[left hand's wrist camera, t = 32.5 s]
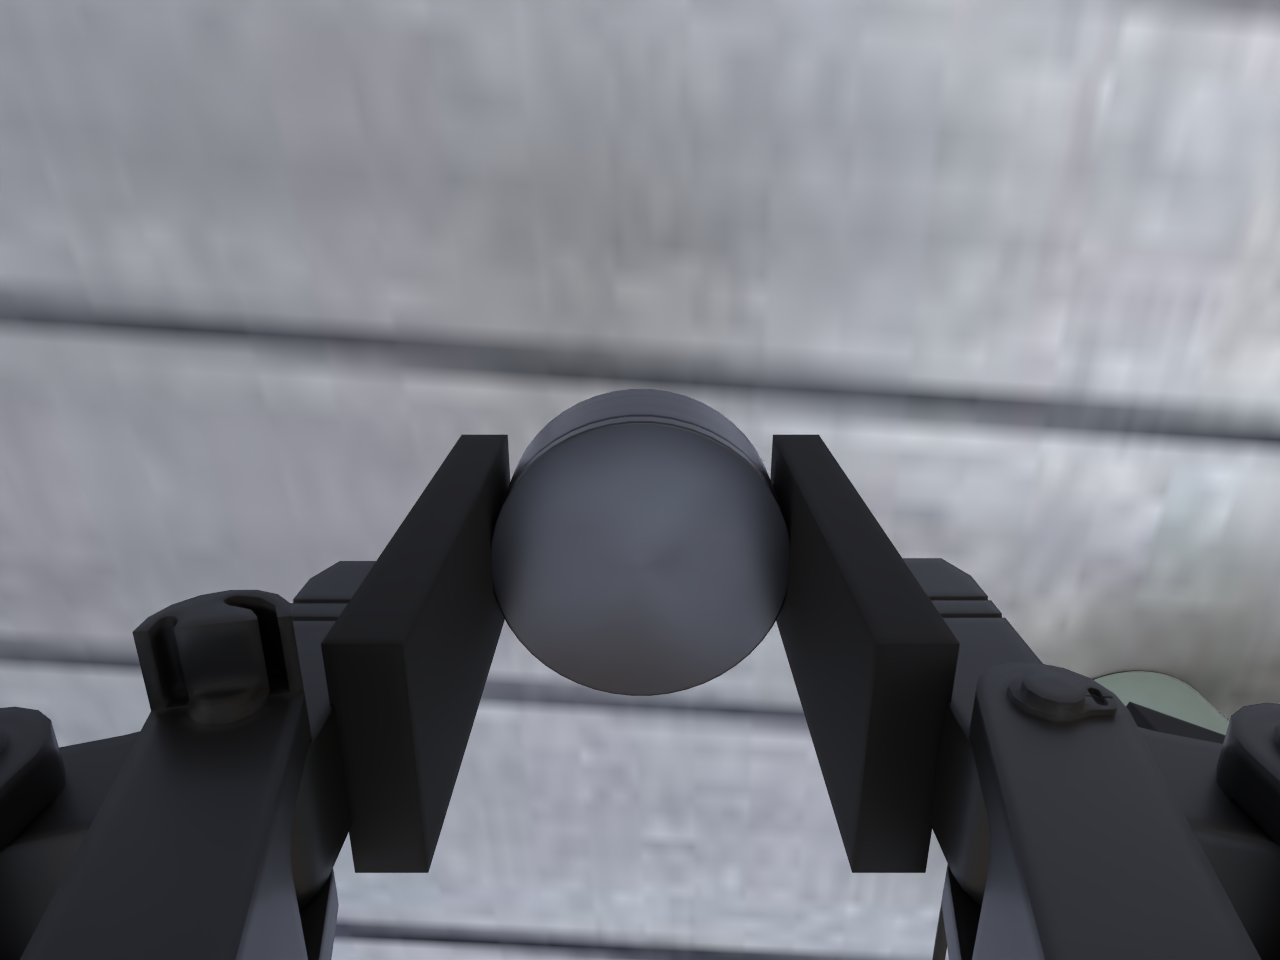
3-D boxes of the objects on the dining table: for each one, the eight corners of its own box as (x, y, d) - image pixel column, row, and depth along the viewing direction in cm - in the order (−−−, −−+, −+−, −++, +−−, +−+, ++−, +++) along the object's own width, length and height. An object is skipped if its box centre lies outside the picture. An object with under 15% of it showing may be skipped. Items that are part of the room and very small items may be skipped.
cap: (654, 329, 13) (656, 355, 11) (826, 528, 14) (854, 580, 12) (453, 505, 14) (425, 554, 12) (628, 677, 15) (627, 745, 13)
